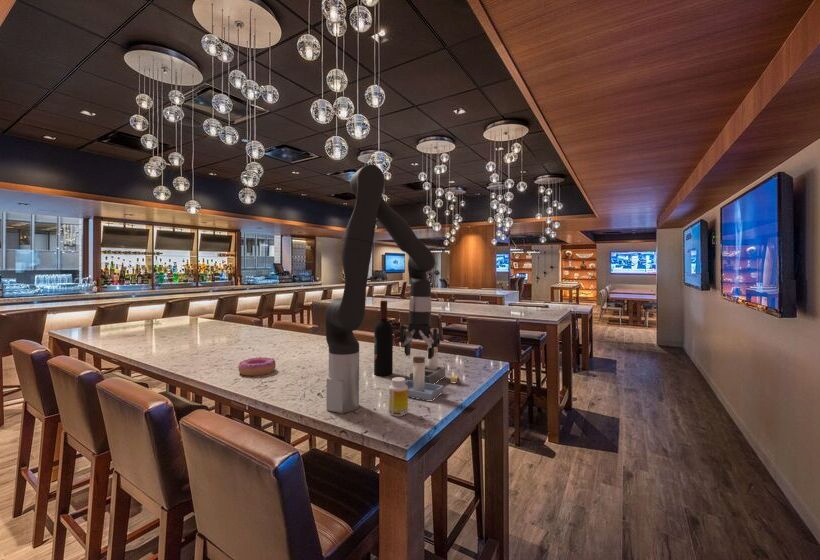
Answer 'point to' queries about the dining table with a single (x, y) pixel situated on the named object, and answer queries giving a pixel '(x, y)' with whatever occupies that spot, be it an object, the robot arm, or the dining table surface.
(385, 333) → the wine bottle
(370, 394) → the dining table surface
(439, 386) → the parts tray
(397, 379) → the supplement bottle
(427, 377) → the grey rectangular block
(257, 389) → the dining table surface
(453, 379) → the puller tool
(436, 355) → the cylinder
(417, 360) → the cylinder
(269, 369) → the donut
